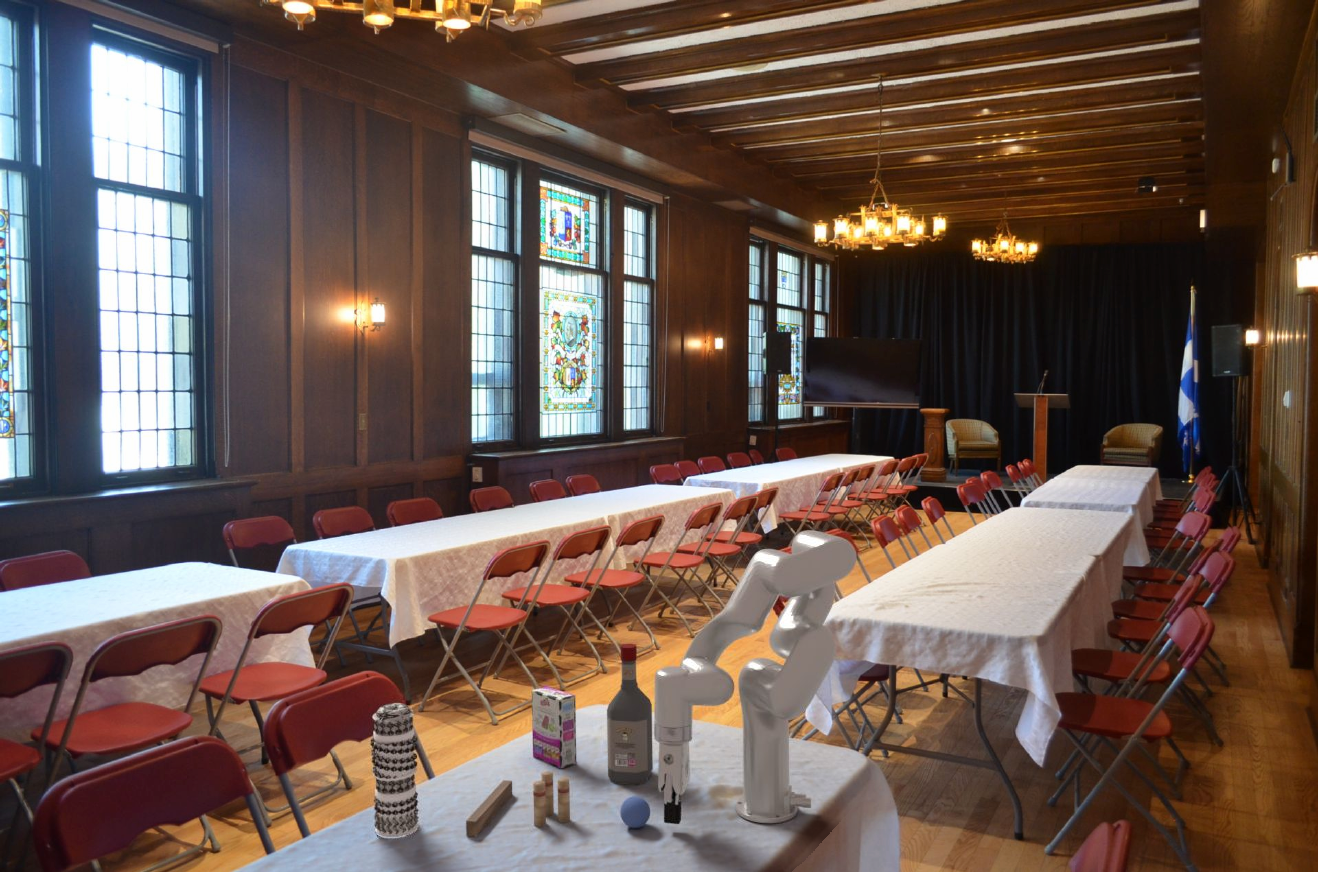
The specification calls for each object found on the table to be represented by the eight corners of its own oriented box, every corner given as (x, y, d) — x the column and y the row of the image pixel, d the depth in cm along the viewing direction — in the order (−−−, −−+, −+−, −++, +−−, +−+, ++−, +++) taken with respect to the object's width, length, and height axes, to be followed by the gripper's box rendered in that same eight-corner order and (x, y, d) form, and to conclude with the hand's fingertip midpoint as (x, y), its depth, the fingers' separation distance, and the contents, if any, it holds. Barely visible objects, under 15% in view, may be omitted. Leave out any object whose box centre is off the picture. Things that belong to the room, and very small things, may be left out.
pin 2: (555, 811, 204) (554, 771, 203) (551, 816, 201) (550, 775, 201) (544, 810, 204) (543, 770, 204) (540, 815, 202) (539, 775, 201)
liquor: (646, 785, 216) (643, 652, 214) (605, 783, 217) (603, 650, 216) (654, 769, 225) (652, 641, 223) (615, 767, 226) (613, 639, 225)
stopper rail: (512, 794, 212) (512, 780, 212) (475, 836, 193) (475, 821, 193) (503, 793, 213) (503, 779, 213) (466, 835, 193) (466, 820, 193)
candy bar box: (578, 763, 229) (576, 694, 228) (561, 769, 225) (559, 699, 224) (548, 751, 237) (547, 684, 236) (531, 756, 233) (530, 689, 232)
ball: (653, 820, 198) (652, 792, 198) (646, 834, 193) (646, 804, 192) (624, 818, 200) (624, 789, 199) (617, 831, 194) (616, 802, 193)
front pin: (571, 818, 200) (570, 777, 200) (568, 823, 198) (567, 782, 197) (560, 817, 201) (559, 776, 200) (556, 822, 198) (555, 781, 198)
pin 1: (547, 821, 199) (546, 780, 198) (543, 827, 196) (542, 785, 196) (536, 820, 199) (535, 779, 199) (532, 826, 197) (531, 784, 196)
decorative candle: (373, 842, 191) (369, 717, 189) (373, 822, 200) (369, 702, 198) (421, 836, 193) (417, 712, 192) (419, 816, 202) (415, 697, 201)
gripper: (685, 745, 185) (684, 840, 186) (698, 719, 200) (697, 807, 201) (646, 742, 187) (646, 836, 187) (661, 716, 201) (661, 804, 202)
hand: (672, 821), depth 194 cm, fingers closed
